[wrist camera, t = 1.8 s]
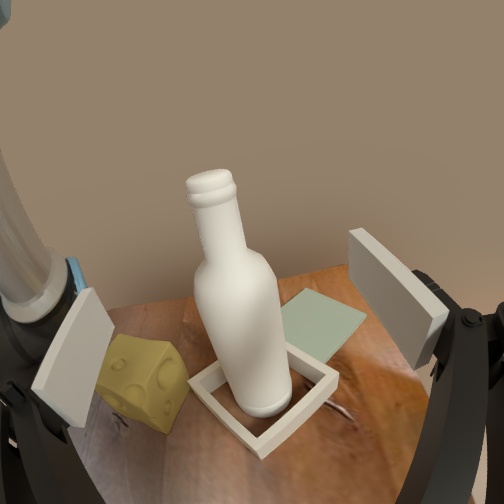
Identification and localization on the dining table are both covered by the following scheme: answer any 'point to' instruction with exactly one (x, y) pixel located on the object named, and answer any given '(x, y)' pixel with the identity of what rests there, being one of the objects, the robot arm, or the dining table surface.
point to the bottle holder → (290, 421)
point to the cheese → (144, 380)
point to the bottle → (238, 300)
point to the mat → (318, 324)
